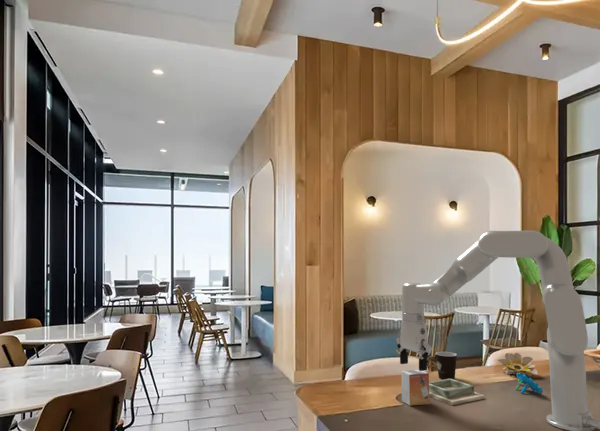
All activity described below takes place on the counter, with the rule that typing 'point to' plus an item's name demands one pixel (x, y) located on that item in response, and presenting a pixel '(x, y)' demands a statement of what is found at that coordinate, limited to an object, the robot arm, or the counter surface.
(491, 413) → the counter surface
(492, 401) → the counter surface
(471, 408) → the counter surface
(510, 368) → the decorative flower
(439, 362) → the coffee mug
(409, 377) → the small box
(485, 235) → the robot arm
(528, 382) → the gear
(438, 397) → the jig
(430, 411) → the counter surface
